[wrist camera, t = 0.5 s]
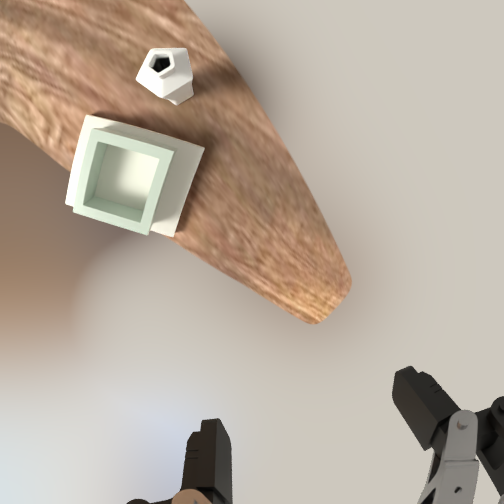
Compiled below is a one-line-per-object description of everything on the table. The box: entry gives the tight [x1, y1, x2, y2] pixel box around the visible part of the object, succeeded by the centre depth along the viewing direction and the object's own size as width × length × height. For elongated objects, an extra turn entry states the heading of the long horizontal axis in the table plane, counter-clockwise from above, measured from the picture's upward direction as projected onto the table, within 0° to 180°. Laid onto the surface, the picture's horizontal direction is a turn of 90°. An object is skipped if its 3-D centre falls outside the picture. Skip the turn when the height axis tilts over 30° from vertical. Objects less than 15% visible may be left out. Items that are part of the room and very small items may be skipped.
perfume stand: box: [65, 115, 205, 237], centre depth 28 cm, size 16×12×6 cm
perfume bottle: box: [136, 48, 194, 105], centre depth 21 cm, size 5×4×15 cm
